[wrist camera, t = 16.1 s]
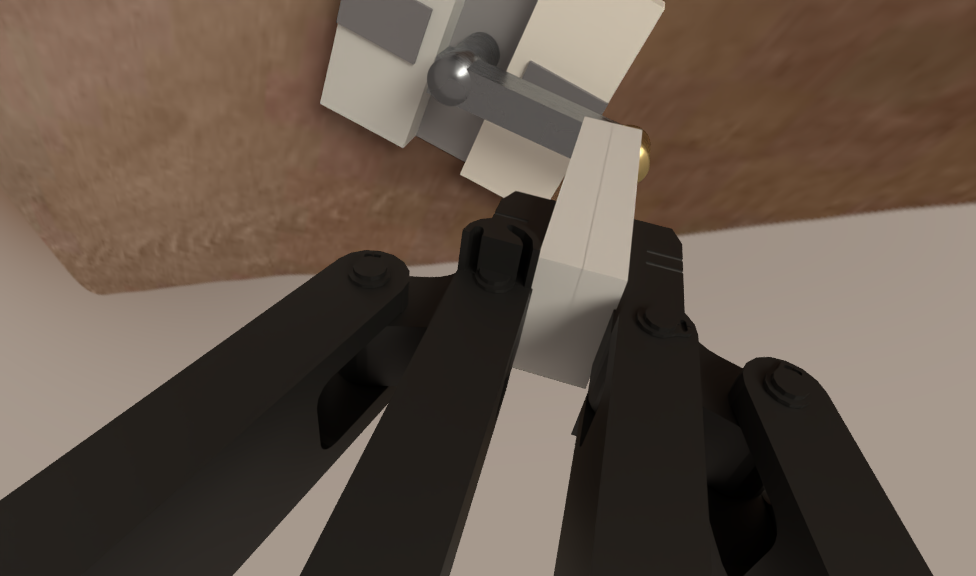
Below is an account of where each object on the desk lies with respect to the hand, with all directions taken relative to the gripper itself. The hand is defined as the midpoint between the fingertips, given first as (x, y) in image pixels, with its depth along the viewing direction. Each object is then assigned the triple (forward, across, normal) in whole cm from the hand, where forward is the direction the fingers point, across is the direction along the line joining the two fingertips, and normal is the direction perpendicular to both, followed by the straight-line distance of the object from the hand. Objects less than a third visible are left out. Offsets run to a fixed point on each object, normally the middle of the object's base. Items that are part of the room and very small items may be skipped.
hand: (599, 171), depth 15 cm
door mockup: (+20, -8, -4) cm, 22 cm away
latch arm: (+19, -3, -5) cm, 20 cm away
